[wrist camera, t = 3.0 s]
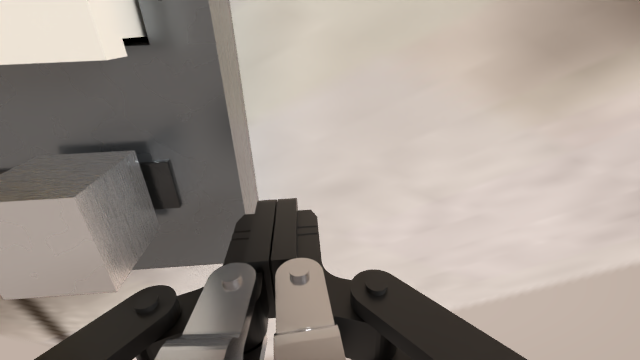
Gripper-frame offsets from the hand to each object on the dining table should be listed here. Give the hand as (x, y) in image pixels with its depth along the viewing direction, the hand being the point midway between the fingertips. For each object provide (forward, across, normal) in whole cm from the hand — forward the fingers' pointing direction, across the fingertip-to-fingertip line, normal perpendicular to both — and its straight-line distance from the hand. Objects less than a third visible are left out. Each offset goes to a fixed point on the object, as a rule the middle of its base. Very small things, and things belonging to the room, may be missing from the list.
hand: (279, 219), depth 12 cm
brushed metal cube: (+3, +8, 0) cm, 8 cm away
